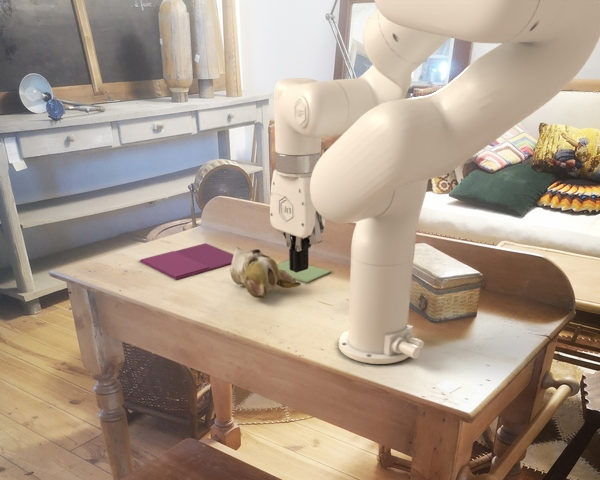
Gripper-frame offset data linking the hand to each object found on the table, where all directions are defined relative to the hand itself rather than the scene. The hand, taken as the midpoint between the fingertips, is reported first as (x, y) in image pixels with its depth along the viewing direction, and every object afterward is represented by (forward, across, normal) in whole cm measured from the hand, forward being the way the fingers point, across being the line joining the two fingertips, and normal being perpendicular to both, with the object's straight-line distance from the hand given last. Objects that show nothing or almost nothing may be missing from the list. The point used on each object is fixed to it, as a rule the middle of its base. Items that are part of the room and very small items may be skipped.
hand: (299, 269), depth 108 cm
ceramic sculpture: (+8, -12, 0) cm, 15 cm away
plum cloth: (+8, -37, 0) cm, 38 cm away
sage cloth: (+8, -15, +13) cm, 22 cm away
